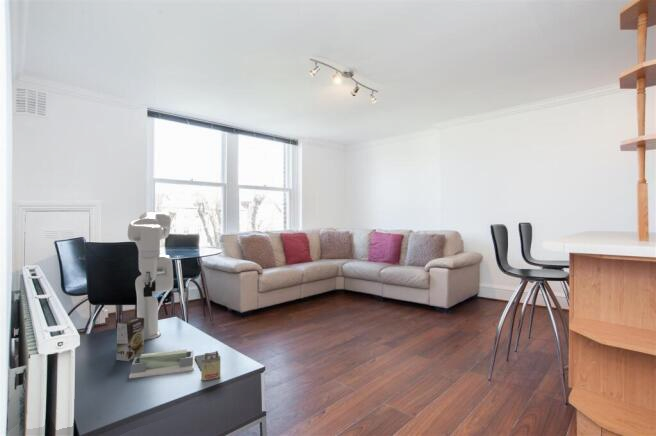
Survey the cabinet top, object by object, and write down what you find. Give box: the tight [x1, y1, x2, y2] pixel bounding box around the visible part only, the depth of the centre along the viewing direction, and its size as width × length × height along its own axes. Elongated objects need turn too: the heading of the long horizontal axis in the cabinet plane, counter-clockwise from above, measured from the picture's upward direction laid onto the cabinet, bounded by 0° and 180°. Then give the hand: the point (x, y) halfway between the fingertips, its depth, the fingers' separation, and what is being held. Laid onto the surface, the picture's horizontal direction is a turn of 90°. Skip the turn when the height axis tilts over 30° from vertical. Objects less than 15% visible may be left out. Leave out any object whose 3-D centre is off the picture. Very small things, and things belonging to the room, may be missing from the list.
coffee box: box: [116, 316, 145, 362], centre depth 150 cm, size 9×6×16 cm
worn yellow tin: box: [200, 350, 222, 381], centre depth 132 cm, size 7×4×10 cm, turn 119°
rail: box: [139, 348, 188, 370], centre depth 139 cm, size 4×17×5 cm, turn 110°
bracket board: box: [128, 350, 195, 379], centre depth 139 cm, size 11×23×4 cm, turn 110°
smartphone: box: [194, 353, 205, 372], centre depth 145 cm, size 7×1×15 cm
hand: (149, 293), depth 147 cm, fingers open, 9 cm apart
